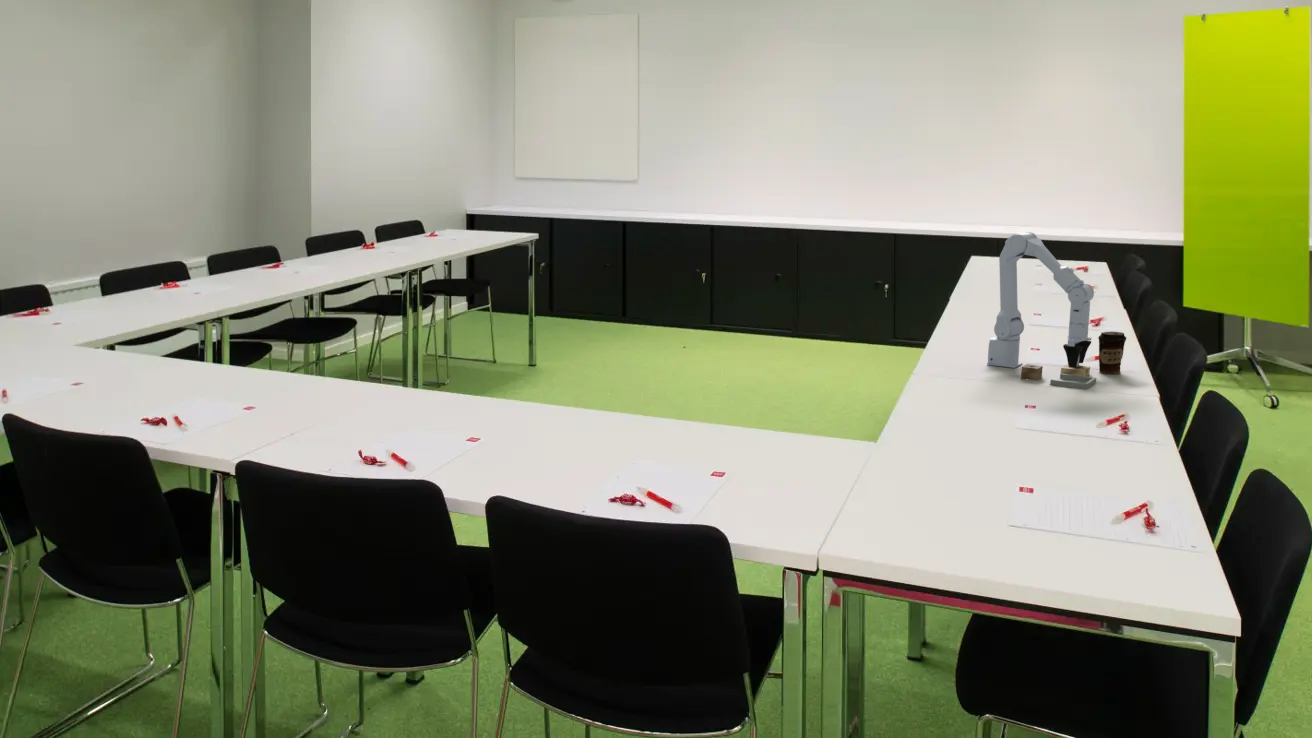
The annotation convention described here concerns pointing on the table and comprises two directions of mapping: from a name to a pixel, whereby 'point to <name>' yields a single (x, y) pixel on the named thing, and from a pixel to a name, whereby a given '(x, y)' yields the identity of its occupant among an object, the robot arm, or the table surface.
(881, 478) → the table surface
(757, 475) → the table surface
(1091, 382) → the grey arch piece
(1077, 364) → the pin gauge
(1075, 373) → the oak block
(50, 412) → the table surface
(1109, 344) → the coffee cup
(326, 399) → the table surface
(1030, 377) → the walnut block
